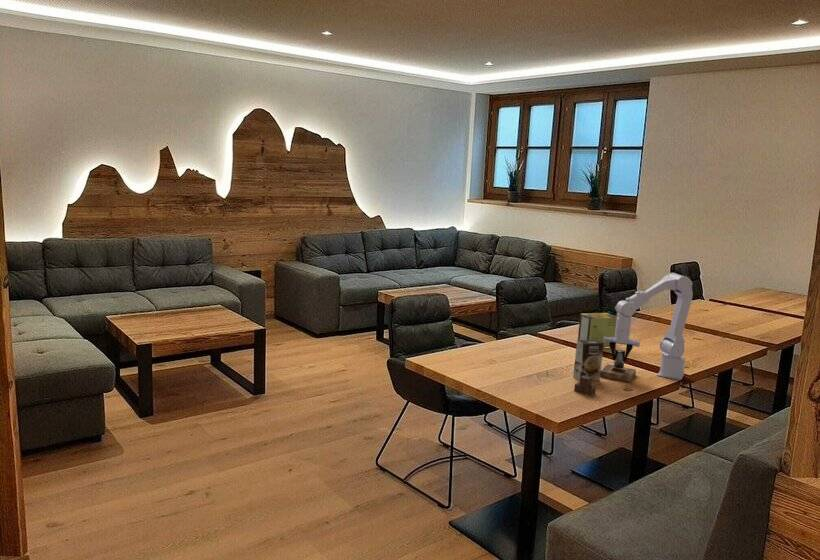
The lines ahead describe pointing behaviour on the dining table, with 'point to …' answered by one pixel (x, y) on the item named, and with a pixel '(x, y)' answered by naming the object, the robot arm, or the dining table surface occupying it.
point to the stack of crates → (585, 386)
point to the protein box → (597, 327)
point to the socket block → (618, 373)
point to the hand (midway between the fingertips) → (619, 360)
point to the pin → (619, 358)
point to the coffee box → (588, 359)
